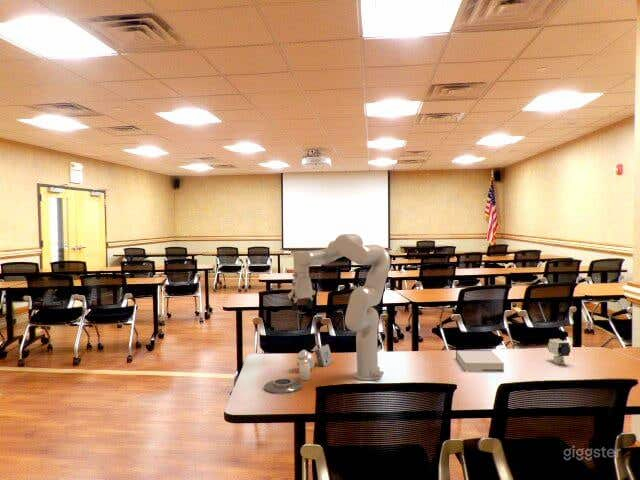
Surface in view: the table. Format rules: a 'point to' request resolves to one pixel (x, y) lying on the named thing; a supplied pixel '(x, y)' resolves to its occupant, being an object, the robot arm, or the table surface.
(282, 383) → the socket
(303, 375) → the white rounded cylinder
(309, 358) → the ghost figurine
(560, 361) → the security camera
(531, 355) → the table surface
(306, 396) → the table surface
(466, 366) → the disc drive
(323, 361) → the electrical switch
